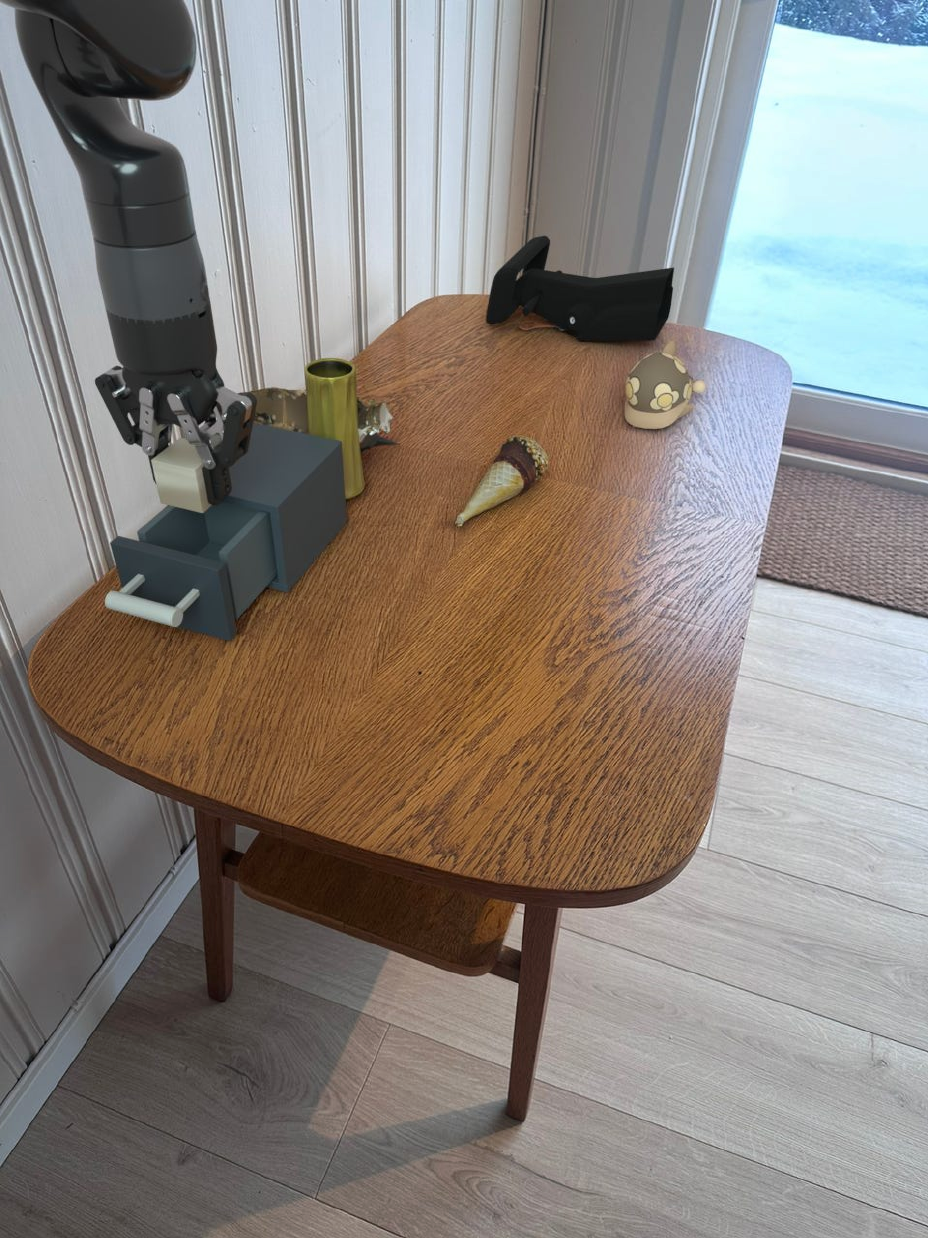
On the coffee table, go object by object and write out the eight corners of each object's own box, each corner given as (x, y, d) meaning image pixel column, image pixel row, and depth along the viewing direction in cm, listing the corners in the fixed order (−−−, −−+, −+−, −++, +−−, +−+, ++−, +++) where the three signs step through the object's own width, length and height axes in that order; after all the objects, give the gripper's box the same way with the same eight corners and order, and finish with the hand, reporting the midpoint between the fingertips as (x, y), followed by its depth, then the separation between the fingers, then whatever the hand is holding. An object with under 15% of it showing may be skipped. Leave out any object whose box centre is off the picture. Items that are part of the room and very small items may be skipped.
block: (202, 513, 74) (194, 469, 72) (160, 503, 75) (150, 459, 73) (229, 489, 77) (222, 446, 75) (188, 479, 78) (179, 437, 76)
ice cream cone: (432, 492, 94) (512, 418, 101) (438, 532, 98) (515, 458, 105) (479, 512, 91) (558, 434, 98) (483, 552, 95) (559, 475, 103)
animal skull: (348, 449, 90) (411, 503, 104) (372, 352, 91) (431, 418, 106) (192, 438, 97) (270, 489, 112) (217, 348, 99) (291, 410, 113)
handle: (665, 350, 126) (648, 244, 118) (495, 371, 140) (469, 277, 131) (691, 305, 138) (677, 205, 130) (532, 328, 151) (510, 239, 143)
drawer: (203, 674, 75) (187, 601, 70) (97, 643, 77) (75, 570, 72) (295, 567, 87) (288, 498, 82) (201, 543, 89) (189, 475, 84)
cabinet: (287, 593, 85) (277, 506, 79) (182, 565, 88) (164, 480, 82) (347, 522, 95) (342, 440, 89) (250, 500, 98) (238, 419, 91)
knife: (602, 332, 140) (597, 323, 142) (603, 328, 139) (597, 320, 142) (521, 332, 138) (517, 323, 140) (521, 328, 137) (517, 320, 139)
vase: (357, 504, 97) (351, 382, 88) (303, 498, 98) (292, 377, 89) (370, 476, 102) (365, 358, 93) (318, 471, 103) (309, 353, 93)
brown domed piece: (637, 413, 127) (606, 425, 114) (648, 333, 123) (617, 336, 110) (708, 422, 123) (684, 435, 110) (721, 340, 119) (698, 344, 106)
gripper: (43, 298, 64) (97, 499, 75) (213, 329, 61) (244, 535, 72) (108, 267, 70) (150, 458, 81) (267, 294, 66) (289, 490, 77)
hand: (194, 493), depth 76 cm, fingers closed on block, 4 cm apart
